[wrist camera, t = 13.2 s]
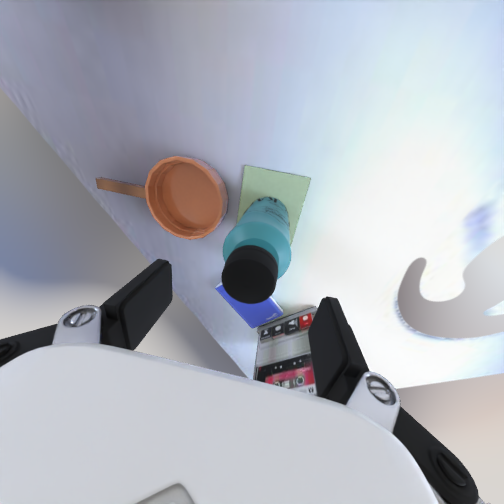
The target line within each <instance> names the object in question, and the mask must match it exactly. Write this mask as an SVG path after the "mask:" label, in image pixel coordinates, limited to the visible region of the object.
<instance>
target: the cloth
mask: <svg viewBox="0 0 504 504" xmlns="http://www.w3.org/2000/svg"><path fill="white" fill-rule="evenodd" d="M310 179H311V178H308V177H302V176H297V175H292V174H287V173H282V172H277V171H272V170H267V169H262V168H257V167H252V166H247V165H245V167H244V174H243V181H242V188H241V195H240V202H239V209H238V216H237V223H238V222H239V221H240V219H241V218H242V216H243V214H245V213H246V212H245V211H246V210H247V208H248V209H249V208H250V205H251V203H253V202H255V201H256V200H257V199H259V198H263V197H267V196H268V197H274V198H275V197H276V199H279V201H281V202H282V203H283V204H284V205H285V207H286V209H287V212H288V216H289V217H288V222H290V227H289V229H290V232H289V234H290V243H291V244H292V240H293V237H294V234H295V230H296V227H297V223H298V220H299V217H300V213H301V210H302V207H303V203H304V200H305V196H306V193H307V190H308V186H309V183H310ZM244 212H245V213H244ZM236 225H237V224H236ZM291 244H290V247H291Z"/></svg>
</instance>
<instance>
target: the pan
mask: <svg viewBox="0 0 504 504" xmlns="http://www.w3.org/2000/svg"><path fill="white" fill-rule="evenodd" d="M145 193H146V202H147V204H148V207H149V209H150V211H151V214H152V216H153V217H154V218H155V220H156V221H157V222H158V223H159V224H160V225H161V227H162V228H163V229H165V230H166V231H168V232H170V233H171V234H173V235H174V236H176V237H180V238H185V239H189V240H191V239H197V238H203V237H205V236H206V235H208V234H209V233H211V232H212V231H214V230H215V229H216V228H217V227H218V226H219V225H220V224H221V222H222V220H223V218H224V217H225V215H226V213H227V206H228V195H227V191H226V187H225V183H224V181H223V180H222V179H221V177H220V176H219V174H218V173H217V171H216V170H215V169H214V168H213V167H211V166H210V165H208V164H207V163H205V162H204V161H202V160H201V159H196V158H191V157H184V156H173V157H170V158H166V159H163V160H160V161H159V162H158V163H157V164H156V165H155V166H154V167H153V168H152V169H151V170H150V171H149V174H148V178H147V181H146V184H145Z"/></svg>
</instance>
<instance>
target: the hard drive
mask: <svg viewBox="0 0 504 504" xmlns="http://www.w3.org/2000/svg"><path fill="white" fill-rule="evenodd" d="M215 289H216V290H217V291H218V292H219V293H220V294H221V295H222V296H223V298H224V299H225V300H226V301H227V302H228V303H229V304H230V305H231V306H232V307H233V308H234V310H235V311H236V312H237V313H238V314H239V315H240V316H241V317H242V318H243V319H244V320H245V321H246V322H247V324H248V325H249V326H250V327H251V328H255V327H257V326H260V325H262V324H264V323H266V322H268V321H271V320H273V319H275V318H277V317H280V316H282V315H283V310H282V308H281V307H280V306H279V305H278V304H277V302H276V301H275V300H274V299H273V298H272V296H270V297H269V298H268V299H267V300H265V301H263V302H261V303H257V304H245V303H241V302H239V301H237V300H235V299H233V298H232V297H231V296H229V295H228V294H227V292H226V291H225V289H224V288H223V285H222V282H221V283H219V284H218V285H217V286H216V288H215Z"/></svg>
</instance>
